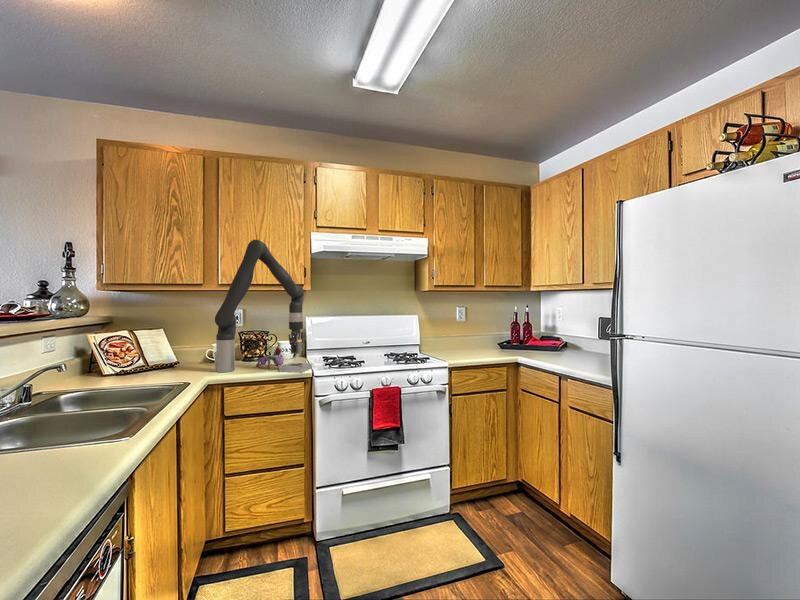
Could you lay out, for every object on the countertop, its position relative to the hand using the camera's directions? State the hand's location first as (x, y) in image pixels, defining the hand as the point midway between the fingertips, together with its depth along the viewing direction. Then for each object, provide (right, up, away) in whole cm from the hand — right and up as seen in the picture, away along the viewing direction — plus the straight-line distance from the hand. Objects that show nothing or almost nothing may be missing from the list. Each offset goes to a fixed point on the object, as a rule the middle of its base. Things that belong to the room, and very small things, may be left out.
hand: (296, 351), depth 213 cm
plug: (0, -1, 0) cm, 1 cm away
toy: (-18, -11, +12) cm, 24 cm away
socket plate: (0, -10, 0) cm, 10 cm away
